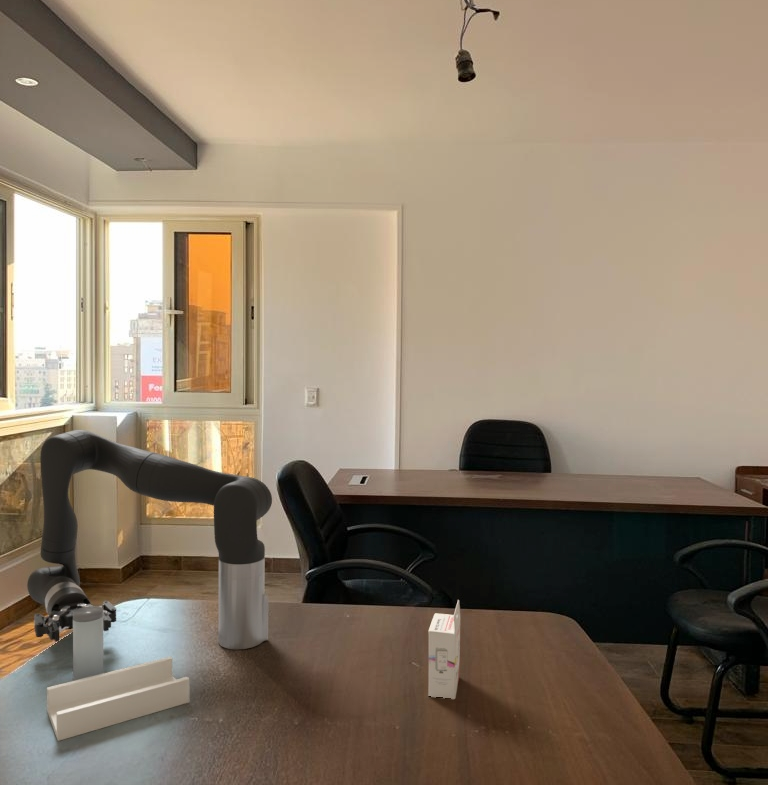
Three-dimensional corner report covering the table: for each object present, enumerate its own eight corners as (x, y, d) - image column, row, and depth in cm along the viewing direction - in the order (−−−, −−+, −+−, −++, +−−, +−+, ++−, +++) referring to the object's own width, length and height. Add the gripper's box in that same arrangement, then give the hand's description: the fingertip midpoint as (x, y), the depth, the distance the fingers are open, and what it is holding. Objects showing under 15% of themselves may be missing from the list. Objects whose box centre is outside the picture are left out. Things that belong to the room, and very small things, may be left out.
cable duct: (170, 678, 117) (170, 656, 117) (189, 702, 109) (189, 678, 108) (47, 711, 105) (46, 687, 105) (57, 741, 97) (57, 714, 97)
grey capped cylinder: (100, 667, 121) (99, 604, 120) (106, 678, 117) (106, 612, 116) (70, 674, 118) (70, 609, 117) (76, 685, 114) (75, 618, 113)
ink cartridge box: (432, 674, 120) (434, 596, 119) (459, 677, 119) (461, 598, 118) (426, 697, 111) (428, 613, 111) (455, 700, 110) (457, 616, 110)
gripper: (28, 593, 130) (39, 619, 117) (103, 580, 138) (122, 603, 125) (28, 630, 130) (40, 660, 117) (103, 615, 139) (122, 641, 125)
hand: (82, 630), depth 121 cm, fingers open, 8 cm apart
